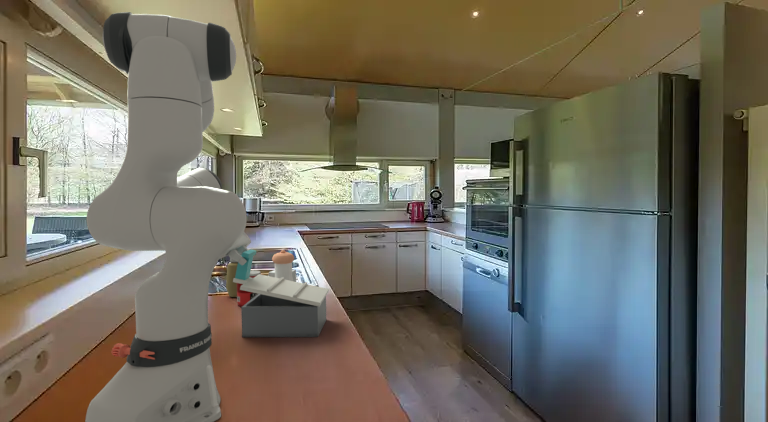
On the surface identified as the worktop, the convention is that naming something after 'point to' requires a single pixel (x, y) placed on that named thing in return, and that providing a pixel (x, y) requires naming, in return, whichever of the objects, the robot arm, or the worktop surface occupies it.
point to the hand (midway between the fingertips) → (248, 261)
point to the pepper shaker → (283, 265)
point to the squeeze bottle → (231, 278)
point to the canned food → (245, 295)
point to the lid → (277, 285)
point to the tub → (281, 318)
